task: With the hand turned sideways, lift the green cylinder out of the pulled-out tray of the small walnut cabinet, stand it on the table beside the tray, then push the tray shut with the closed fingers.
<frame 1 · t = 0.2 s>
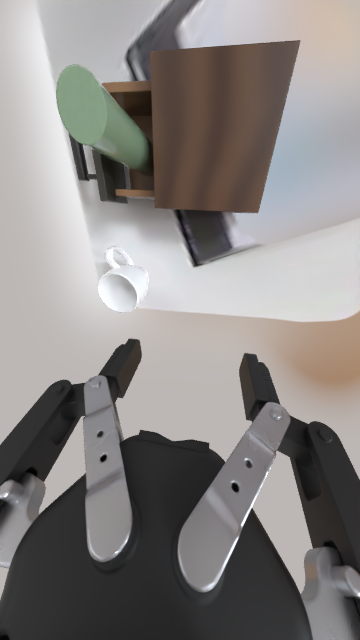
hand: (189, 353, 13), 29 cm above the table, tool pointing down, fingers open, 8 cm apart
drawer: (132, 153, 26), point 5 cm above the table, slide at 8.0 cm, touching green cylinder
green cylinder: (145, 158, 28), point 2 cm above the table, touching drawer
mug: (138, 268, 41), on the table
cabinet: (212, 162, 28), on the table
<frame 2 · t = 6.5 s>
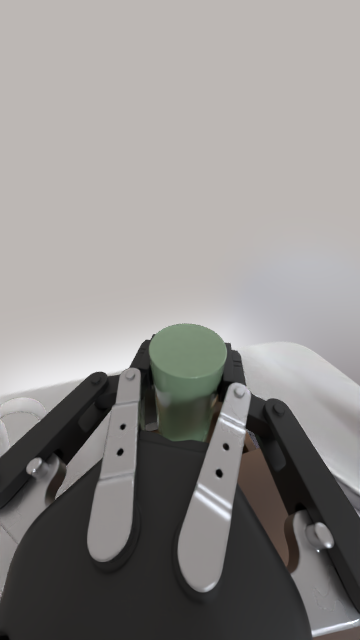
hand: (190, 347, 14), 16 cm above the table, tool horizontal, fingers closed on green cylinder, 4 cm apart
drawer: (179, 429, 19), point 5 cm above the table, slide at 8.0 cm, touching green cylinder
green cylinder: (181, 451, 19), point 2 cm above the table, touching drawer, gripper
mug: (9, 472, 19), on the table
when the fingers open (13 cm above the table, at t = 13.9 s): green cylinder stays where it is, on the table.
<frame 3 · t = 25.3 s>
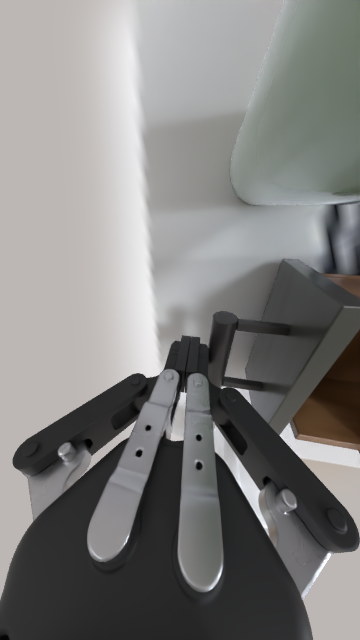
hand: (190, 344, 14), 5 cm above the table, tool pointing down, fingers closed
drawer: (331, 360, 13), point 5 cm above the table, slide at 6.9 cm
green cylinder: (267, 161, 11), on the table
mug: (229, 415, 28), on the table
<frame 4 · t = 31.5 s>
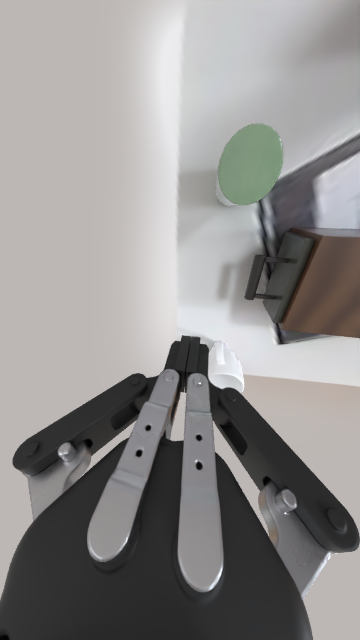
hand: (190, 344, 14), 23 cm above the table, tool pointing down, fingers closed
drawer: (308, 280, 27), point 5 cm above the table, slide at 0.0 cm
green cylinder: (231, 187, 26), on the table
mug: (220, 342, 43), on the table
cabinet: (321, 272, 30), on the table
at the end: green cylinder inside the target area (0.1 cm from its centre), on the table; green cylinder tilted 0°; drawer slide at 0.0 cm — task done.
